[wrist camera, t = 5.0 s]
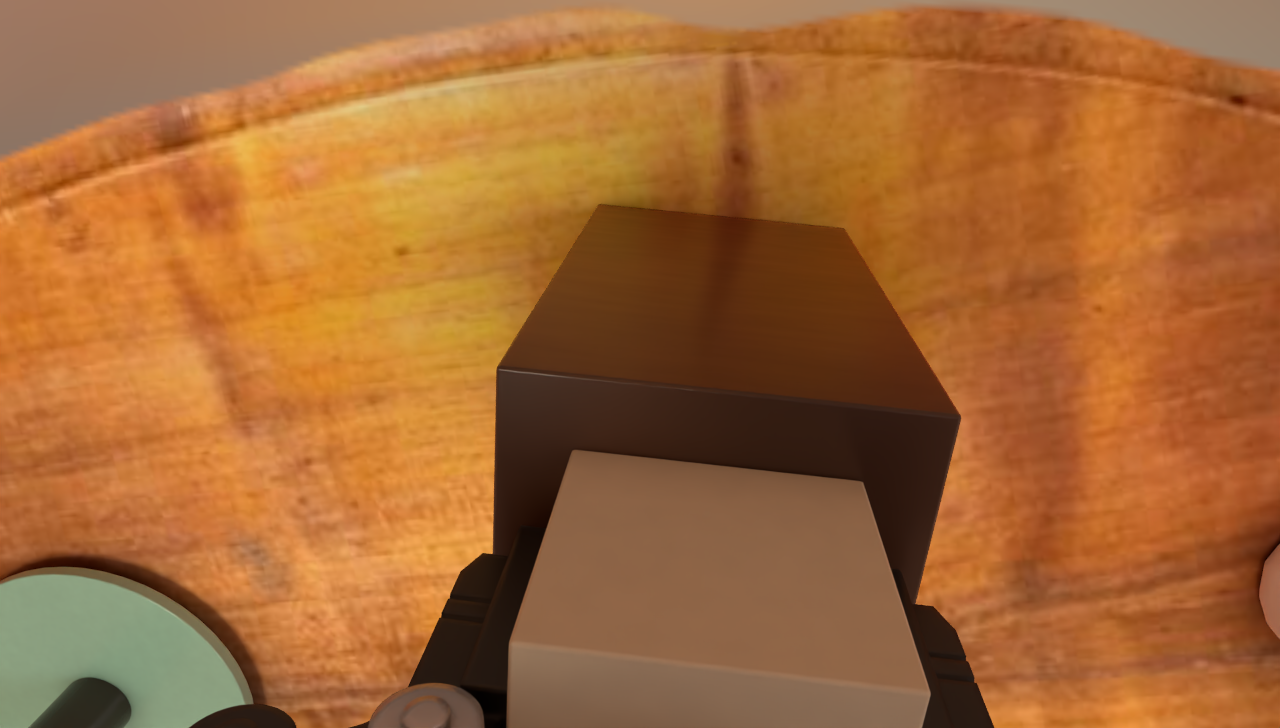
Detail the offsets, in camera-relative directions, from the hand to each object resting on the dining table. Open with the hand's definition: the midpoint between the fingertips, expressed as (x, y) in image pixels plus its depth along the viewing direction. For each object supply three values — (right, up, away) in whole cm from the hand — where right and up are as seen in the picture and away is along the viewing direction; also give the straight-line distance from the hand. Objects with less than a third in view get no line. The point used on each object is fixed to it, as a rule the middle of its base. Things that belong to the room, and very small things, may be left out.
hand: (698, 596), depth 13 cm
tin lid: (-20, -8, +18) cm, 28 cm away
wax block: (0, 0, 0) cm, 0 cm away
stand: (+1, +5, +11) cm, 12 cm away
